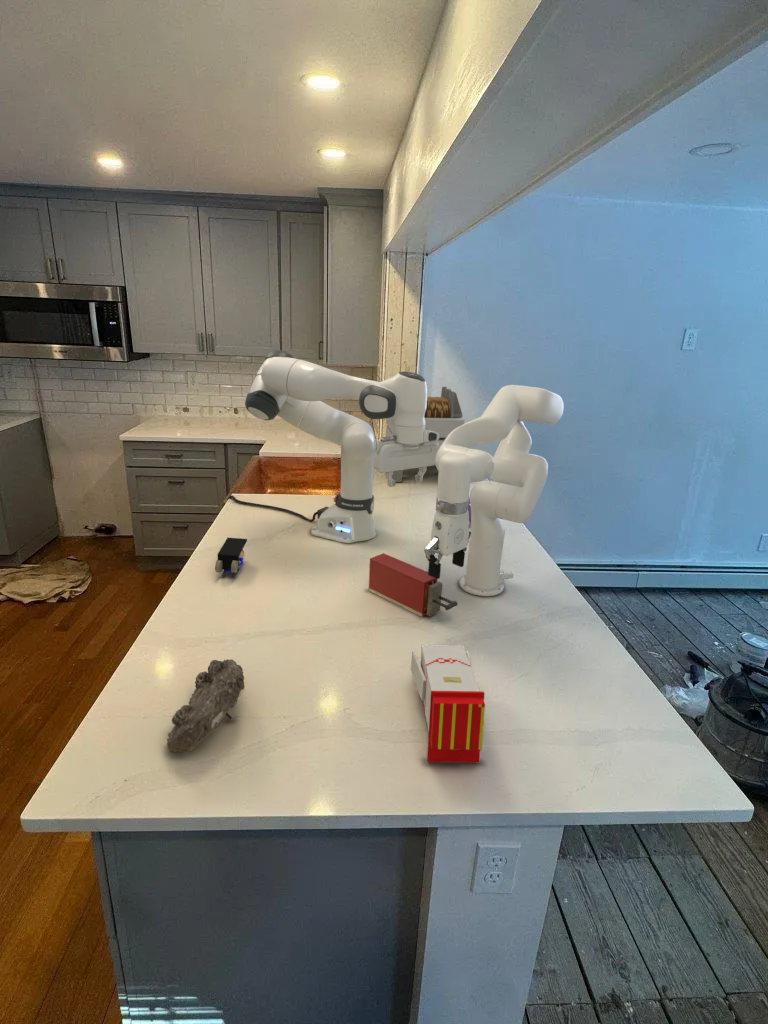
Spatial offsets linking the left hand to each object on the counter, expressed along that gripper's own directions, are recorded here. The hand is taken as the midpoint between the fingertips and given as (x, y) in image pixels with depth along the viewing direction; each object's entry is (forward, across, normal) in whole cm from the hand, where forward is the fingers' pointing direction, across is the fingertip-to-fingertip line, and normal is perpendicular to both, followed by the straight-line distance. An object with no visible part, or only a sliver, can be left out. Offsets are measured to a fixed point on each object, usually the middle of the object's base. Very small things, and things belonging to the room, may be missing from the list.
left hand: (405, 483), depth 157 cm
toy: (+29, -27, -51) cm, 65 cm away
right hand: (+15, -5, -24) cm, 29 cm away
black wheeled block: (+30, -39, +30) cm, 58 cm away
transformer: (+29, +77, +87) cm, 119 cm away
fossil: (+30, -66, -29) cm, 78 cm away
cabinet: (+29, -7, -10) cm, 32 cm away
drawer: (+28, -6, -16) cm, 33 cm away
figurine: (+29, +48, +24) cm, 61 cm away
